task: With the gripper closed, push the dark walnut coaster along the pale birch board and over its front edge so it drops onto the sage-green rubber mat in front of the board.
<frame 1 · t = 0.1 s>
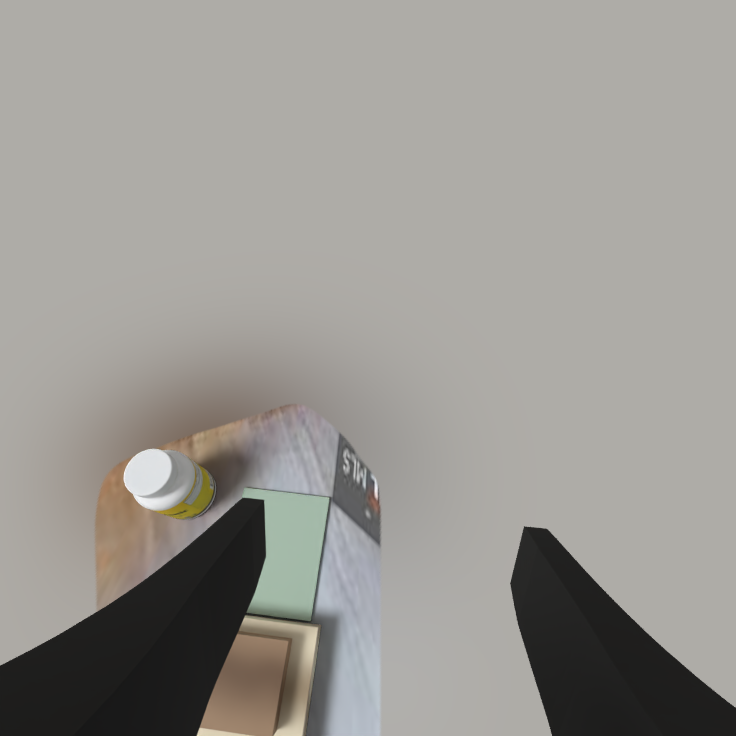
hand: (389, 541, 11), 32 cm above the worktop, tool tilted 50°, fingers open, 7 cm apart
birch board: (254, 684, 36), on the worktop
walnut coaster: (248, 677, 33), point 3 cm above the worktop, touching birch board
supplement bottle: (192, 494, 43), on the worktop
green mat: (276, 550, 41), on the worktop
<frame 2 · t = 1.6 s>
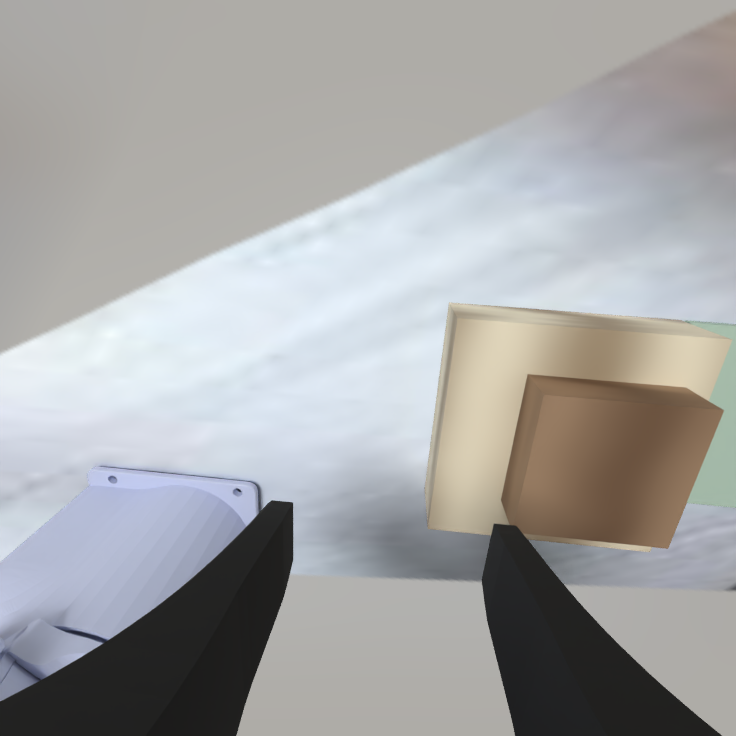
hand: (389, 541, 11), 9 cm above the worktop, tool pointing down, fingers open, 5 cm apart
birch board: (539, 413, 20), on the worktop
walnut coaster: (586, 447, 17), point 3 cm above the worktop, touching birch board
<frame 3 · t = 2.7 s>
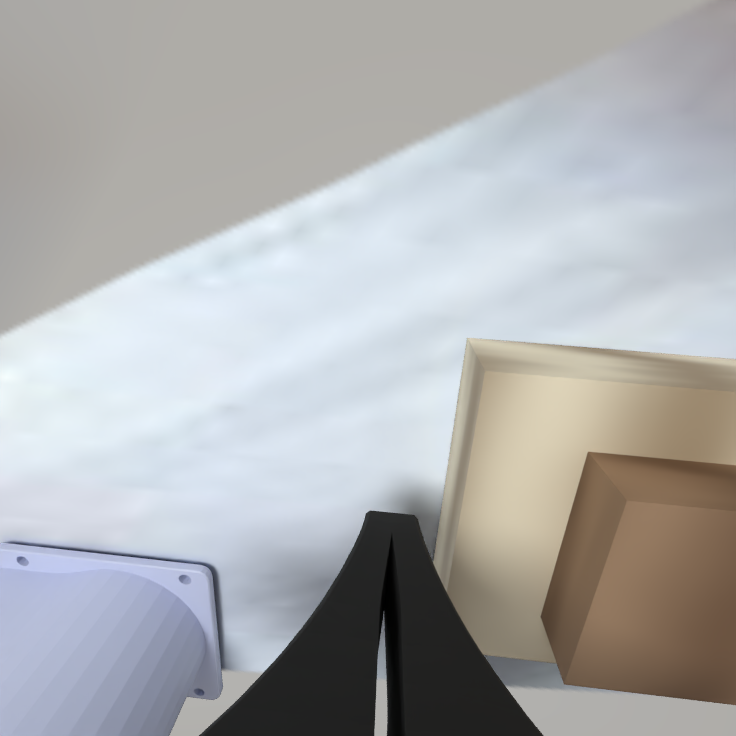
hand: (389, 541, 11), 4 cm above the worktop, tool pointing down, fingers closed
birch board: (588, 484, 15), on the worktop
walnut coaster: (669, 552, 12), point 3 cm above the worktop, touching birch board
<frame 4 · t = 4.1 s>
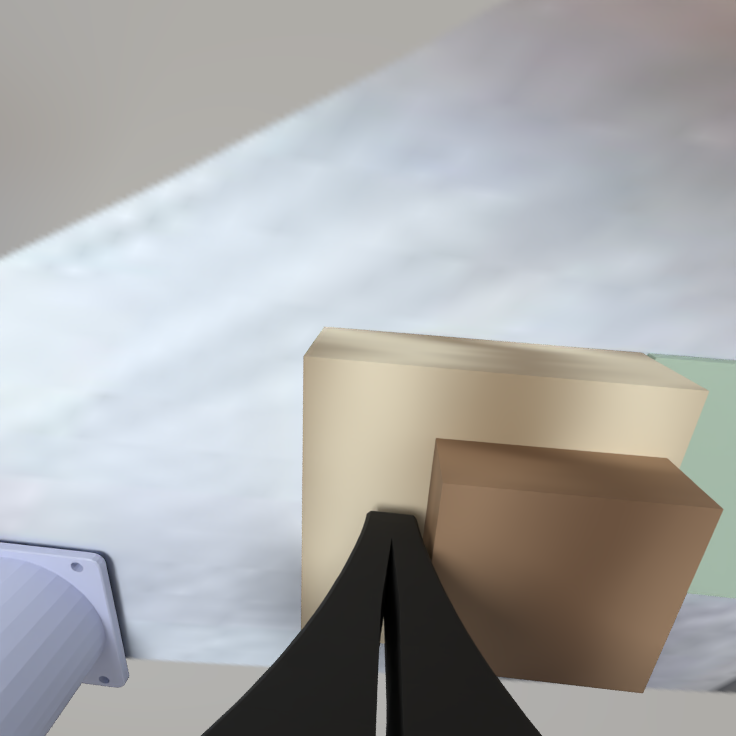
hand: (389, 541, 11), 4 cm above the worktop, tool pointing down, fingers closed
birch board: (458, 472, 15), on the worktop
walnut coaster: (528, 537, 12), point 3 cm above the worktop, touching birch board, gripper
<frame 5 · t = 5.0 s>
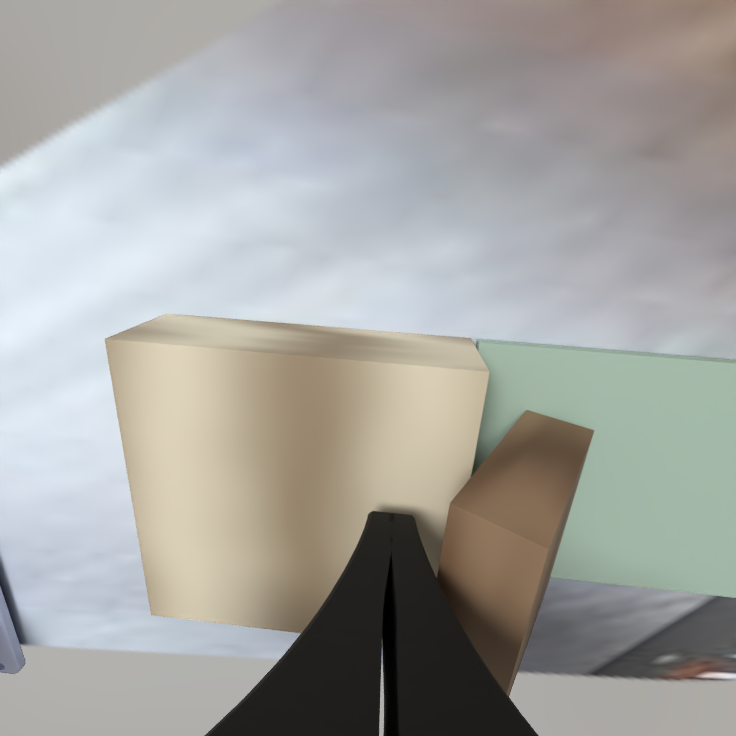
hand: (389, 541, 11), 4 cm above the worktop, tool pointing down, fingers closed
birch board: (313, 458, 15), on the worktop
walnut coaster: (477, 535, 12), point 3 cm above the worktop, tilted 59°, touching green mat, gripper
green mat: (615, 475, 14), on the worktop
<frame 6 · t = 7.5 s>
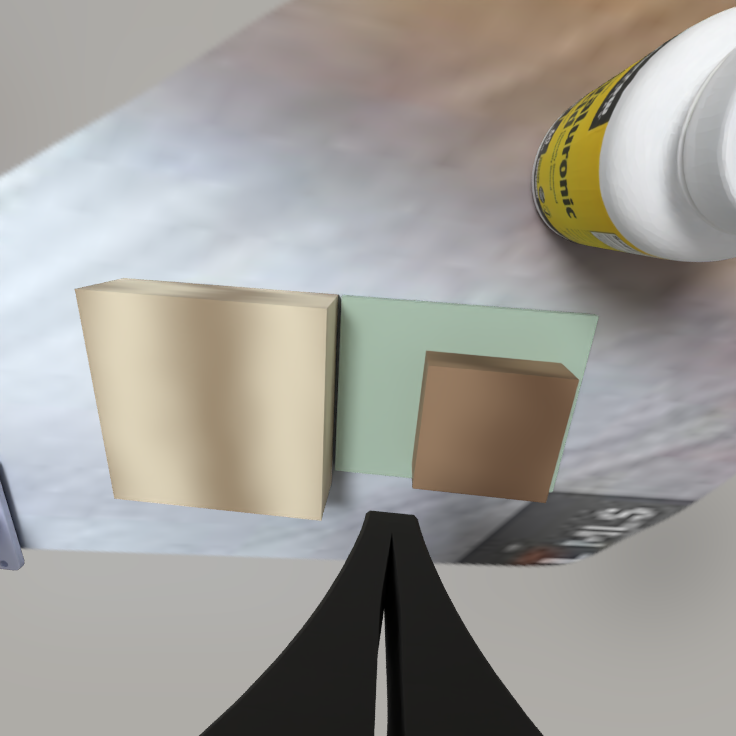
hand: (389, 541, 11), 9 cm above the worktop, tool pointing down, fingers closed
birch board: (235, 387, 20), on the worktop
walnut coaster: (490, 437, 18), point 2 cm above the worktop, tilted 180°, touching green mat
supplement bottle: (596, 173, 16), on the worktop
green mat: (453, 397, 20), on the worktop
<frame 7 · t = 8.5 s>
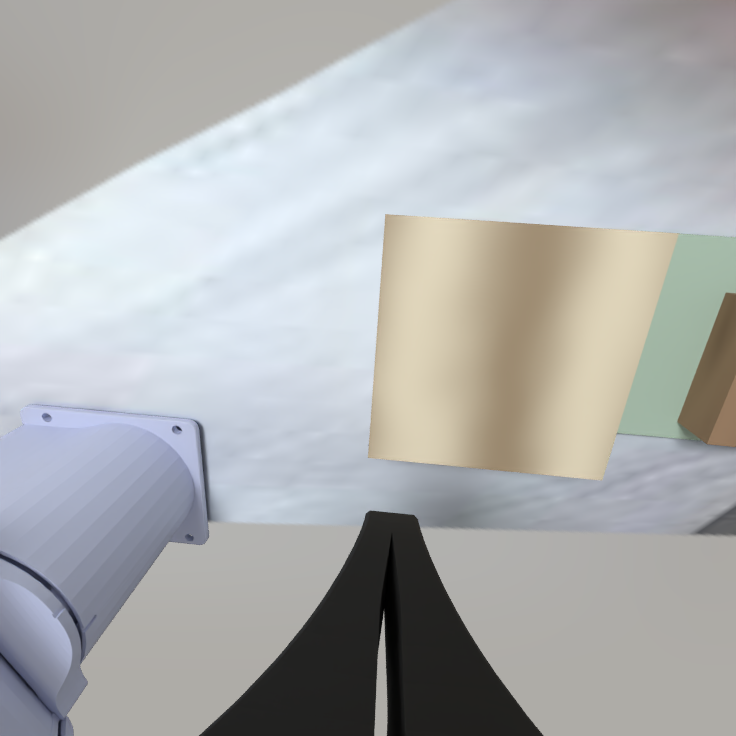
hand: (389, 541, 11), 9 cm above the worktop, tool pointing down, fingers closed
birch board: (488, 338, 19), on the worktop
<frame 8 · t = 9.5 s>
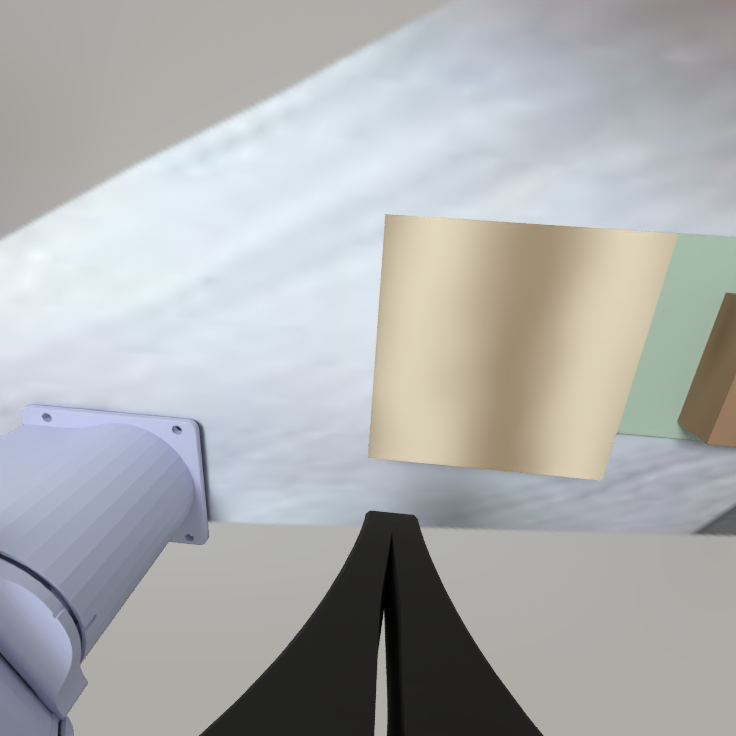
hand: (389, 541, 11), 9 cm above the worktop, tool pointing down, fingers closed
birch board: (488, 338, 19), on the worktop
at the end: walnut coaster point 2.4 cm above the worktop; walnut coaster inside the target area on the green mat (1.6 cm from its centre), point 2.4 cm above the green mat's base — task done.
